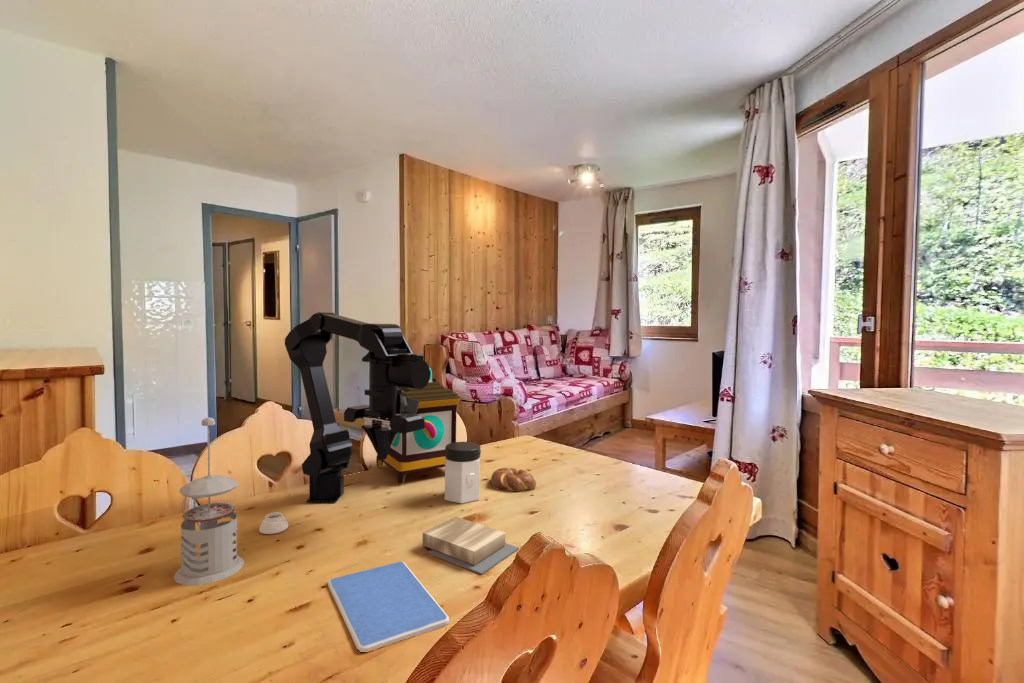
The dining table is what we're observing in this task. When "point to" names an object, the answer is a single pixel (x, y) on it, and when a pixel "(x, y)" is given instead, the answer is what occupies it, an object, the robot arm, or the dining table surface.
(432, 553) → the mat
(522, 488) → the pretzel
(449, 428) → the decorative lantern
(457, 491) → the jar
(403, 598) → the tablet computer
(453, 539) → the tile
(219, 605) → the dining table surface
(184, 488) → the french press
